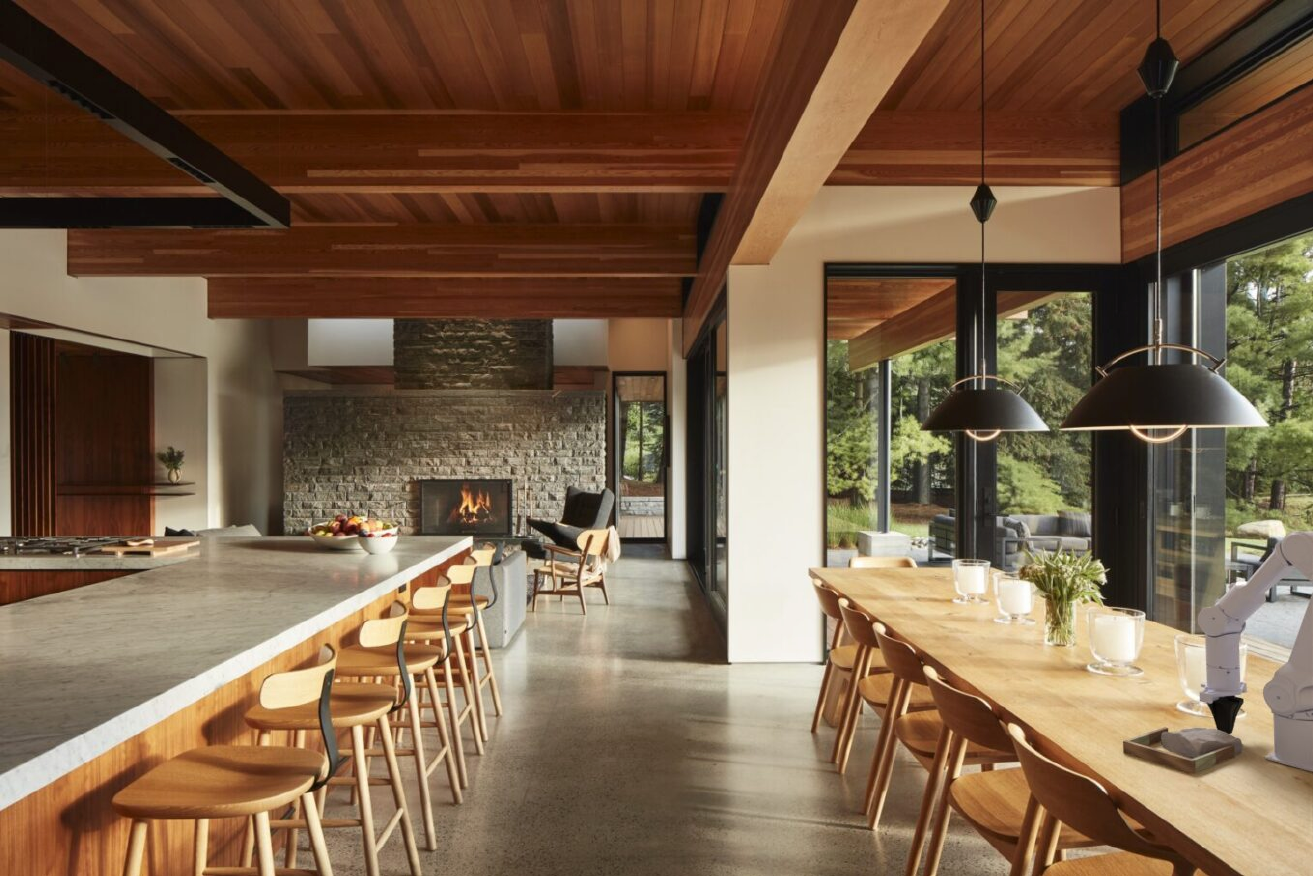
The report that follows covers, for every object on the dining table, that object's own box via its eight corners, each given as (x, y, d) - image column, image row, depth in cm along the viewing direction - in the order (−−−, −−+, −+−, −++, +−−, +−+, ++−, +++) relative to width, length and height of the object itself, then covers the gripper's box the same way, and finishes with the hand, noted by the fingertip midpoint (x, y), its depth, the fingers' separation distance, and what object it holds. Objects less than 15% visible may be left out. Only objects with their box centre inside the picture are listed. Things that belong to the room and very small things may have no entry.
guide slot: (1234, 757, 158) (1234, 745, 158) (1192, 773, 151) (1192, 761, 151) (1165, 738, 169) (1165, 727, 170) (1123, 752, 162) (1122, 741, 162)
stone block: (1156, 755, 165) (1201, 762, 156) (1152, 730, 166) (1196, 735, 157) (1202, 750, 169) (1249, 757, 159) (1198, 726, 170) (1244, 731, 160)
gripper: (1219, 657, 176) (1221, 721, 176) (1182, 666, 169) (1184, 733, 169) (1257, 663, 170) (1259, 730, 170) (1220, 674, 163) (1222, 743, 163)
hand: (1224, 732), depth 169 cm, fingers closed
